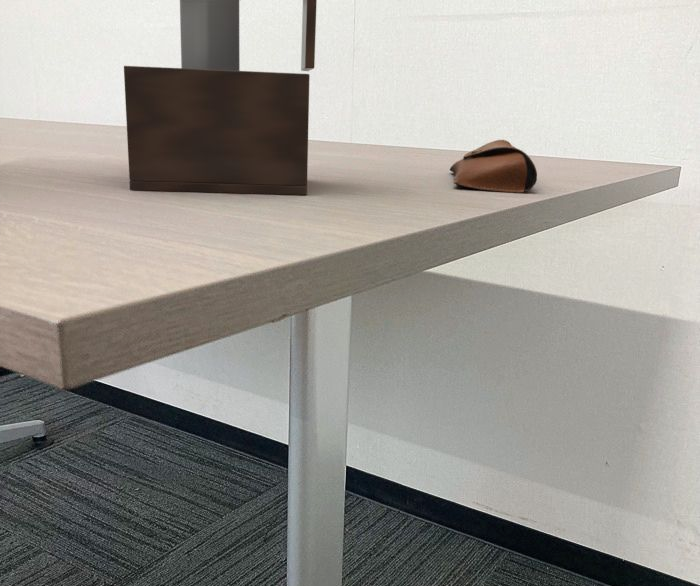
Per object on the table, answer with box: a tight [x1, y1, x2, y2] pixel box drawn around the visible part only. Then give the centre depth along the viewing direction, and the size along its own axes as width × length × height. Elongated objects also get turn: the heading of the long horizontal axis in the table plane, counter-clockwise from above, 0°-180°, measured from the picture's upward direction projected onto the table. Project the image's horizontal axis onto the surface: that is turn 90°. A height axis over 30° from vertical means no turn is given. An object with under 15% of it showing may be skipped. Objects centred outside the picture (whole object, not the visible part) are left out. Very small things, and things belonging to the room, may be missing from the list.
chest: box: [123, 65, 311, 196], centre depth 73 cm, size 16×13×10 cm
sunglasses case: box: [449, 139, 538, 194], centre depth 86 cm, size 18×7×7 cm, turn 176°
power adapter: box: [179, 0, 241, 71], centre depth 69 cm, size 3×5×12 cm, turn 148°
